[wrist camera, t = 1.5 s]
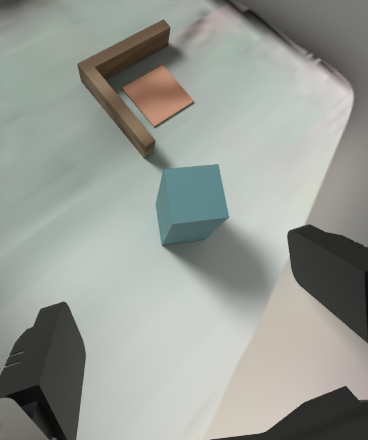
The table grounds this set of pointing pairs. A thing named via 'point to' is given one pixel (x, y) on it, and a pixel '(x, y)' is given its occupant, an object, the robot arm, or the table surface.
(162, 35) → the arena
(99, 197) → the table surface
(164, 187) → the teal block
